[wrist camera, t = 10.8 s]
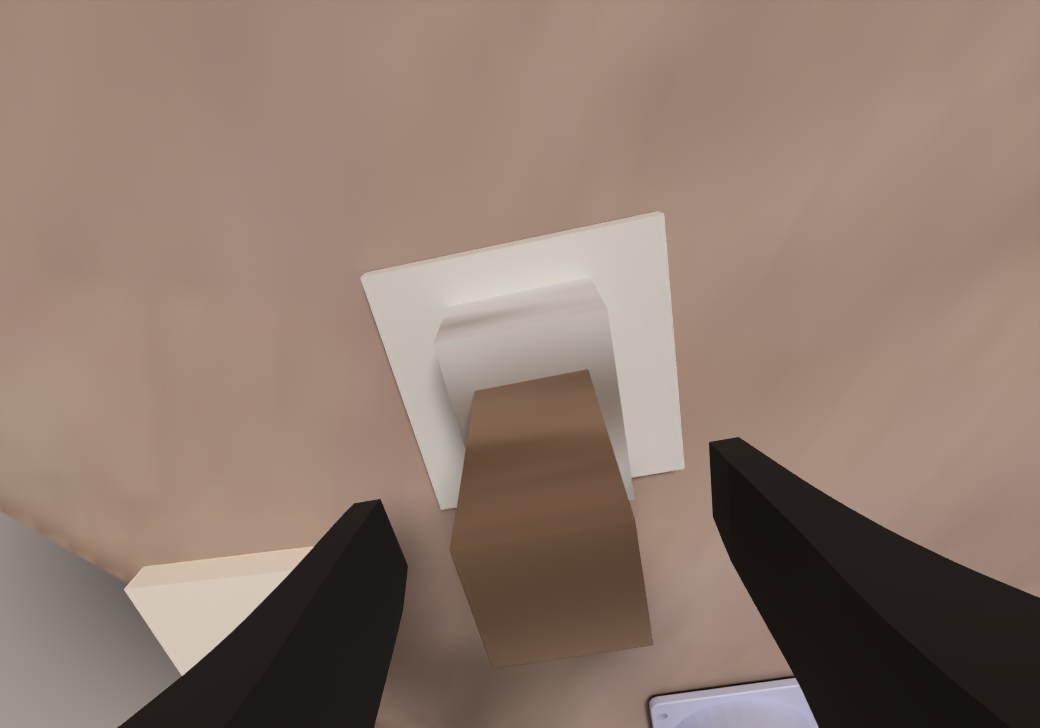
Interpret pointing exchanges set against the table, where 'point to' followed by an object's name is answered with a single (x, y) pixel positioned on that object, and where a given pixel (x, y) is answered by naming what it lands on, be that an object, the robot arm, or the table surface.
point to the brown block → (543, 476)
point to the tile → (206, 598)
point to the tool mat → (527, 265)
